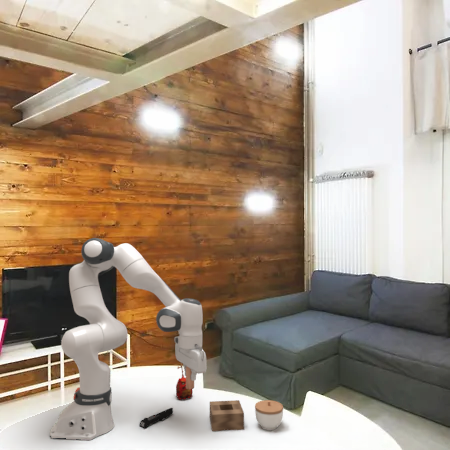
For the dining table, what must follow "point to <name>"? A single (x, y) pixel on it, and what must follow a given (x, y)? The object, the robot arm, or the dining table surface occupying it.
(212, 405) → the socket block
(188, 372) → the peg
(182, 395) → the red clay folk toy
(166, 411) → the electric trimmer
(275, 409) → the lidded jar
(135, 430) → the dining table surface
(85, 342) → the robot arm
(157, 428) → the dining table surface
